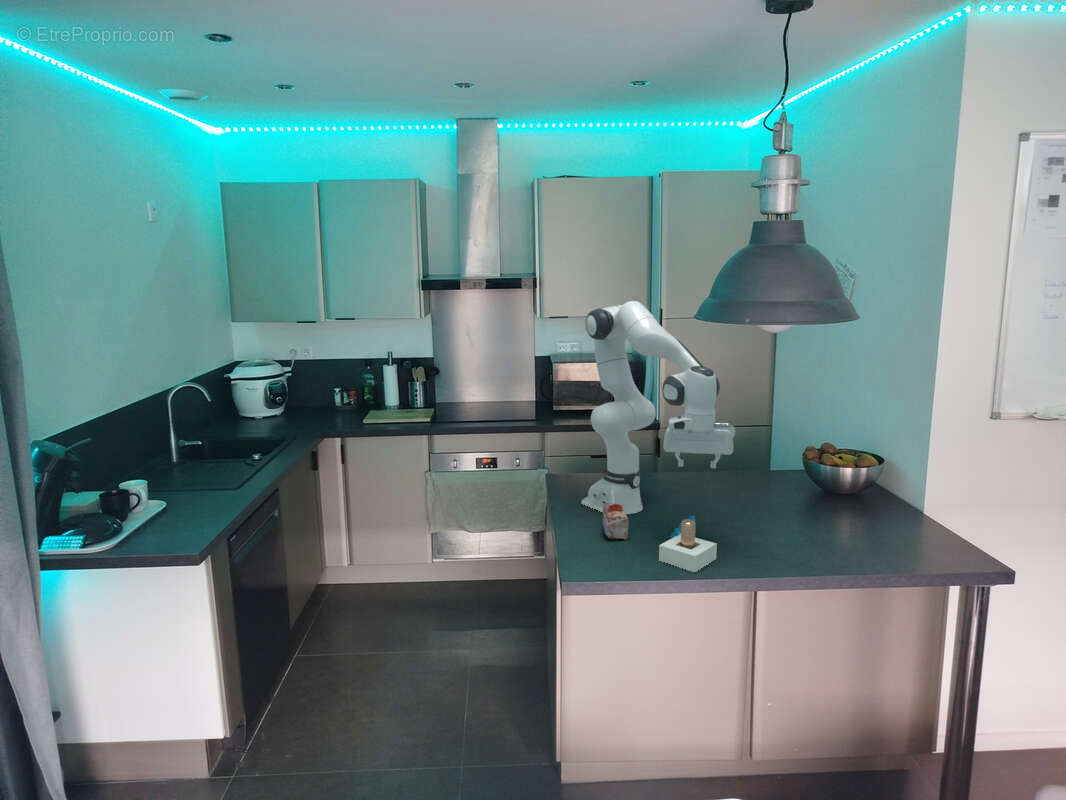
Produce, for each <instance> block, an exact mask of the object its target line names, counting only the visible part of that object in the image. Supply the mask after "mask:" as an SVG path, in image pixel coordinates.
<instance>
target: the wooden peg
mask: <svg viewBox="0 0 1066 800" xmlns="http://www.w3.org/2000/svg"><path fill="white" fill-rule="evenodd" d="M680 524H681V547H684V548H688V549H691V550H692V549H693V548H695V538H696V520H695V521H694V520H690V519H688V518H685V519H682V520H681V523H680Z"/></svg>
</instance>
